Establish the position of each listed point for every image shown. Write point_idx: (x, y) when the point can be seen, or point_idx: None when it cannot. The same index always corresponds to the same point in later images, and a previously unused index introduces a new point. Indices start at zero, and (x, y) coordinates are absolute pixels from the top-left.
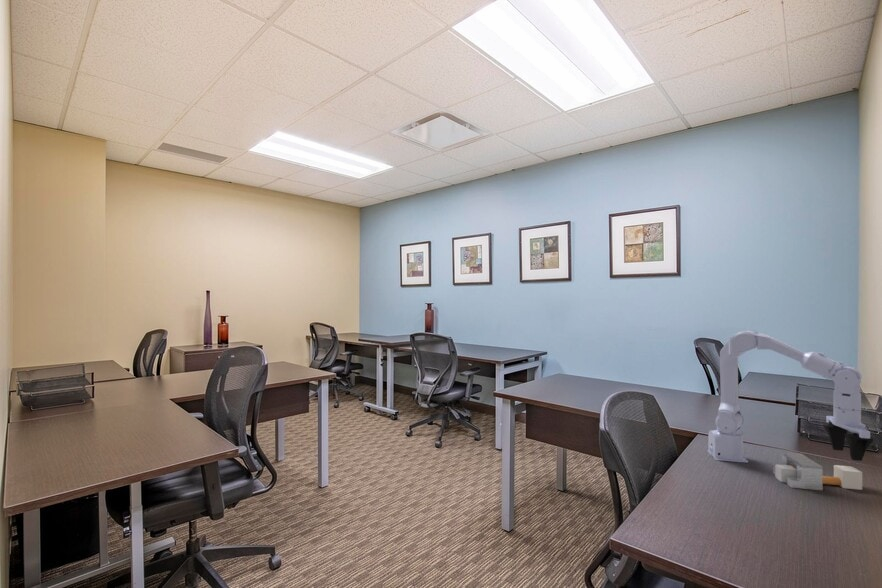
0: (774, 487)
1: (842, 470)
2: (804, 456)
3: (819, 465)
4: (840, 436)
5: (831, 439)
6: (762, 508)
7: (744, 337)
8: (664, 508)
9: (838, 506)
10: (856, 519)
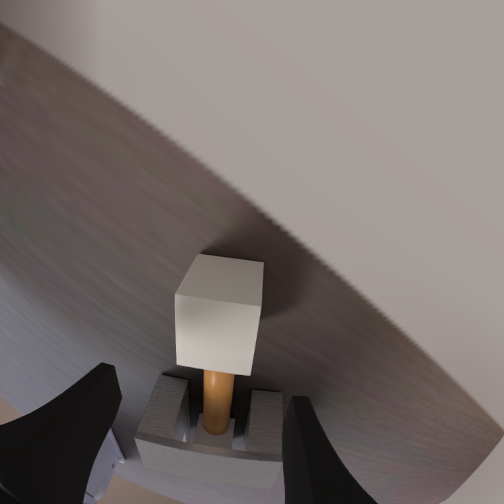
0: None
1: (244, 373)
2: (170, 450)
3: (270, 463)
4: (69, 446)
5: (95, 453)
6: None
7: None
8: None
9: (375, 403)
10: (430, 399)
